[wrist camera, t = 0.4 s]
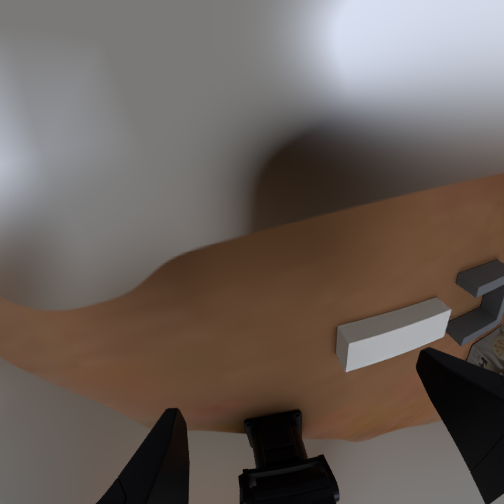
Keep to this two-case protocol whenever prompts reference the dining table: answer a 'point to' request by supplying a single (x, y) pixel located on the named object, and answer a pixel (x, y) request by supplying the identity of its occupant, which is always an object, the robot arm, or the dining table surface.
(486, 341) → the coffee box
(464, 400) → the robot arm
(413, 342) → the slat
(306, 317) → the dining table surface
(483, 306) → the end cap
